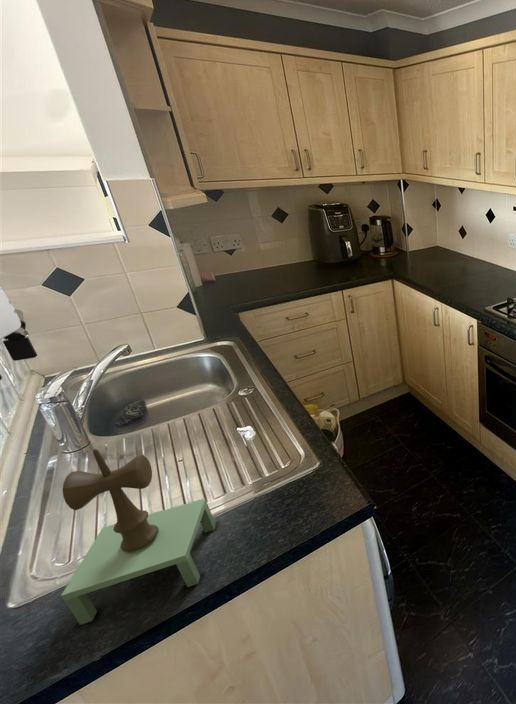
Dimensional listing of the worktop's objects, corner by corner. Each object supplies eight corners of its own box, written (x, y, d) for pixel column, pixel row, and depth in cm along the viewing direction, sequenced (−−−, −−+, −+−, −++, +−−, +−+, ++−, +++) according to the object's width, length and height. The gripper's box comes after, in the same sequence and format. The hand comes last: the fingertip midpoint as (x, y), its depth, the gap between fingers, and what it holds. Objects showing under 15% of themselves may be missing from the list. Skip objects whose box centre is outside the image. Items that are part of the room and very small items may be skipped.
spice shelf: (79, 625, 65) (60, 595, 63) (117, 554, 77) (102, 527, 75) (198, 583, 71) (184, 555, 69) (215, 524, 83) (205, 498, 81)
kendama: (112, 539, 72) (62, 448, 65) (178, 517, 76) (138, 429, 69) (99, 567, 67) (43, 471, 60) (171, 541, 71) (127, 449, 64)
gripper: (-36, 268, 71) (11, 355, 78) (-130, 293, 57) (-62, 398, 63) (21, 262, 74) (63, 347, 80) (-54, 285, 59) (4, 387, 65)
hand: (8, 369), depth 72 cm, fingers open, 9 cm apart
